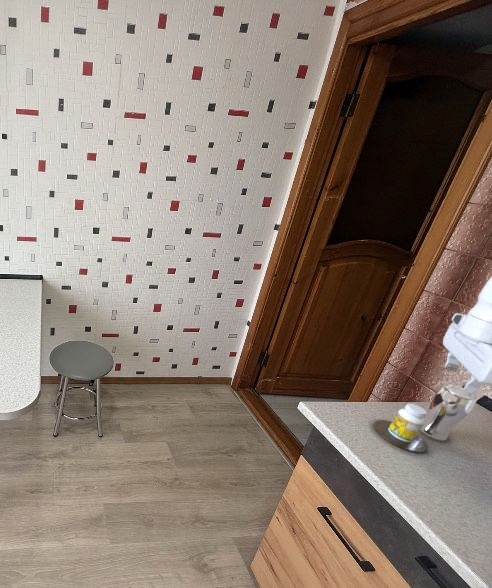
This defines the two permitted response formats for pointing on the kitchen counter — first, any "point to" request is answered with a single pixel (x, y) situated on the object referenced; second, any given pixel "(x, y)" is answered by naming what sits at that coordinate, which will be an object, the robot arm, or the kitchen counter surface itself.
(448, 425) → the beer glass
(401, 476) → the kitchen counter surface
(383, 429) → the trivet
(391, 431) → the supplement bottle
